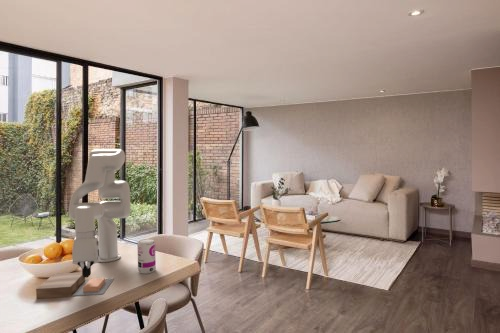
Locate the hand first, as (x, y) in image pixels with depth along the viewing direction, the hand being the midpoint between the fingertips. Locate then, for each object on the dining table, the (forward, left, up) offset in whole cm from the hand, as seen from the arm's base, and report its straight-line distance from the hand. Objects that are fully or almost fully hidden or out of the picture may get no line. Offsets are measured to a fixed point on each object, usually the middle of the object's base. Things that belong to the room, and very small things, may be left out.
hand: (86, 276), depth 142 cm
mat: (0, +3, -5) cm, 6 cm away
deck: (0, -10, -5) cm, 11 cm away
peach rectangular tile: (0, +3, -3) cm, 4 cm away
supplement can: (-16, +22, -5) cm, 28 cm away
